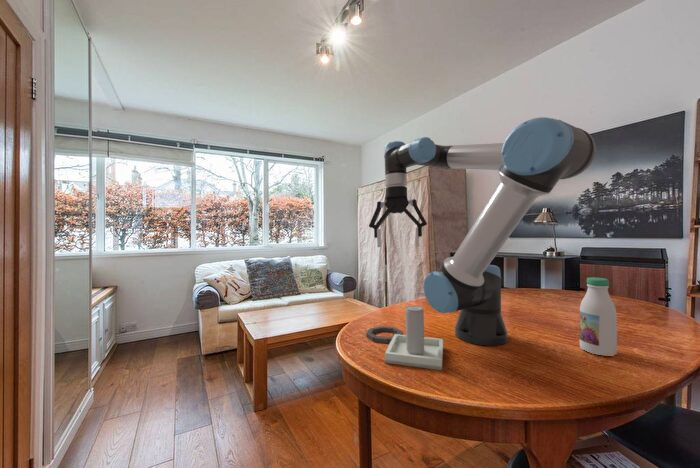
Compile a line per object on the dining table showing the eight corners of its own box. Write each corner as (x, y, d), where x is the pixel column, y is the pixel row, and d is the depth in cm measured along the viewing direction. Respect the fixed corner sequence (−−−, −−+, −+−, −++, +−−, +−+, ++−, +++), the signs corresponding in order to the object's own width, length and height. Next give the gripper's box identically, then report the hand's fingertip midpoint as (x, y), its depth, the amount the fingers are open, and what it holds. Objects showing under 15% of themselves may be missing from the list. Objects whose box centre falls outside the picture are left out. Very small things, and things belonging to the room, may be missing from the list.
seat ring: (404, 331, 96) (404, 328, 96) (398, 344, 86) (398, 340, 86) (372, 328, 100) (372, 325, 100) (363, 340, 89) (363, 336, 89)
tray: (443, 347, 83) (443, 338, 83) (441, 370, 70) (441, 360, 70) (394, 342, 88) (394, 334, 88) (385, 362, 75) (384, 353, 75)
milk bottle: (607, 347, 81) (607, 276, 81) (623, 359, 74) (623, 281, 73) (574, 344, 84) (574, 275, 83) (586, 355, 76) (586, 280, 76)
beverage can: (427, 354, 77) (426, 309, 77) (410, 356, 76) (409, 310, 76) (420, 347, 82) (419, 305, 81) (403, 348, 81) (403, 306, 81)
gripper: (433, 185, 102) (435, 245, 102) (365, 191, 110) (366, 246, 110) (432, 182, 95) (434, 246, 95) (359, 188, 103) (361, 247, 103)
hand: (398, 246), depth 103 cm, fingers open, 13 cm apart
